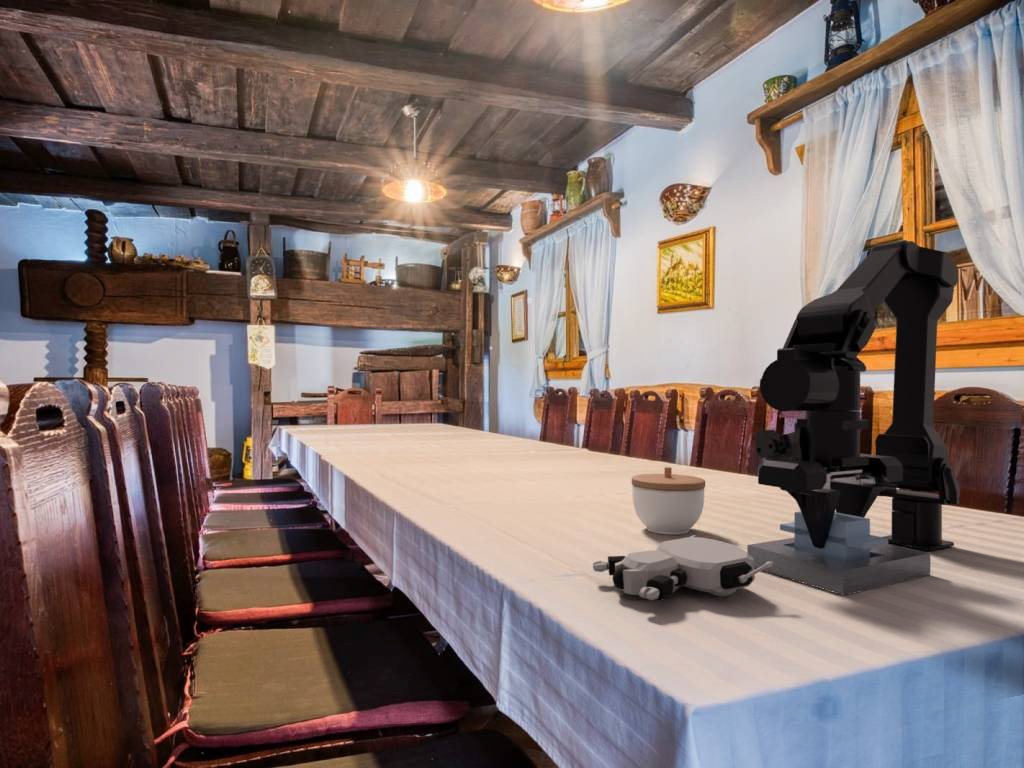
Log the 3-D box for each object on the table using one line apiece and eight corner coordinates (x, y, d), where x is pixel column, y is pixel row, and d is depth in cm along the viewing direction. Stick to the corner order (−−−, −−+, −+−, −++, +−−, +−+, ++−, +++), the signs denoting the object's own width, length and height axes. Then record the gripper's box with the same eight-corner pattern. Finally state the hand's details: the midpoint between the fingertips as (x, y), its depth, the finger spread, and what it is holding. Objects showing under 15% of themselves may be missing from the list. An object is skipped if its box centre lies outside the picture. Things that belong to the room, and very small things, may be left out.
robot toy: (650, 630, 56) (780, 599, 61) (647, 580, 56) (777, 554, 61) (586, 589, 67) (700, 567, 72) (584, 548, 67) (698, 528, 72)
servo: (811, 545, 78) (811, 505, 78) (896, 565, 69) (896, 520, 69) (780, 550, 75) (780, 509, 75) (863, 572, 66) (863, 525, 66)
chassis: (832, 550, 81) (832, 531, 81) (930, 574, 70) (930, 552, 71) (747, 565, 73) (747, 544, 73) (843, 595, 63) (843, 571, 63)
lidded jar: (616, 529, 93) (617, 466, 93) (657, 519, 100) (657, 461, 100) (679, 542, 85) (679, 474, 85) (718, 531, 92) (719, 468, 92)
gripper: (819, 408, 83) (819, 524, 83) (720, 409, 74) (720, 539, 74) (905, 410, 73) (905, 542, 73) (803, 412, 65) (802, 562, 64)
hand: (831, 545), depth 72 cm, fingers closed on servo, 4 cm apart
